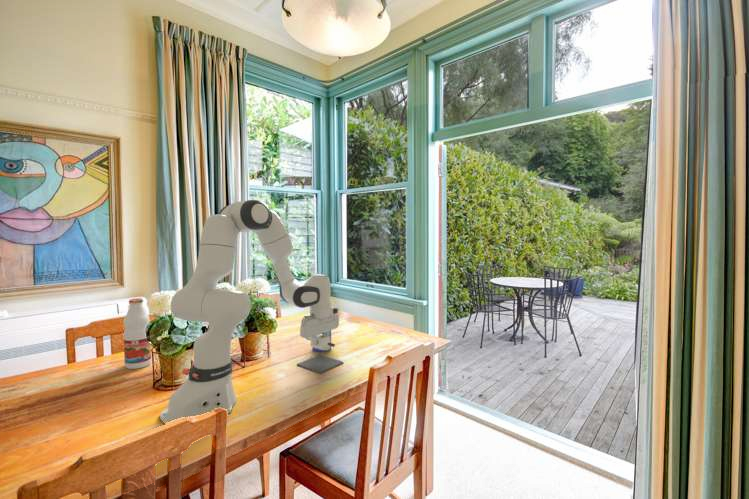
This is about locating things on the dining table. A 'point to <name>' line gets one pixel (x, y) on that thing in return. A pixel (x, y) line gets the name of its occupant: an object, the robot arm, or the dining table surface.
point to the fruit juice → (136, 336)
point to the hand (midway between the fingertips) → (320, 343)
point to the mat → (320, 363)
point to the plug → (322, 342)
